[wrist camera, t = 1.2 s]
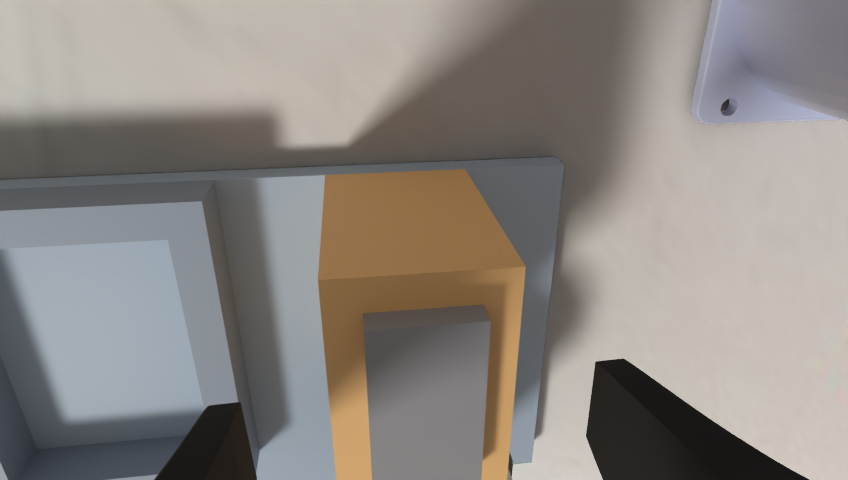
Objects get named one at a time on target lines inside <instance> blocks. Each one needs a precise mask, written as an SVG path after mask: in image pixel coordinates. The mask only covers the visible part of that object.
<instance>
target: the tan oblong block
mask: <svg viewBox="0 0 848 480" xmlns="http://www.w3.org/2000/svg"><path fill="white" fill-rule="evenodd" d="M525 270H526V266H525V265H524V263H523V261H522V260H521V258H520V256H519V255H518V253H517V252H516V250H515V248H514V247H513V245H512V244H511V242H510V240H509V239H508V237H507V236H506V234H505V232H504V231H503V229H502V228H501V226H500V224H499V223H498V221H497V220H496V218H495V216H494V215H493V213H492V212H491V210H490V208H489V207H488V205H487V204H486V202H485V200H484V199H483V197H482V196H481V194H480V192H479V191H478V189H477V188H476V186H475V184H474V183H473V181H472V179H471V178H470V176H469V175H468V173H467V171H466V170H465V169H455V170H432V171H409V172H386V173H362V174H339V175H325V183H324V198H323V212H322V226H321V241H320V255H319V270H318V288H319V299H320V310H321V320H322V331H323V342H324V353H325V364H326V374H327V385H328V396H329V407H330V418H331V428H332V439H333V450H334V461H335V472H336V480H507V475H508V463H509V452H510V441H511V429H512V418H513V407H514V395H515V384H516V372H517V361H518V350H519V338H520V327H521V315H522V304H523V293H524V281H525Z"/></svg>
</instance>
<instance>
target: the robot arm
mask: <svg viewBox="0 0 848 480" xmlns="http://www.w3.org/2000/svg"><path fill="white" fill-rule="evenodd" d="M727 99H729V106H728V108H727V109H726V110H725V111H724V112H722V113H721V106H722V104H723V103H724V102H725V101H726V100H727ZM691 113H692V115H693V117H694V118H695V119H696V120H697V121H699V122H702V123H705V124H728V123H756V122H785V121H813V120H841V119H843V120H846V121H848V0H713V1H712V6H711V11H710V16H709V21H708V26H707V31H706V35H705V40H704V45H703V50H702V55H701V60H700V65H699V70H698V75H697V80H696V85H695V90H694V95H693V100H692V105H691ZM586 437H587V440H588V442H589V445H590V448H591V450H592V453H593V455H594V458H595V461H596V463H597V466H598V468H599V471H600V473H601V476H602V478H603V480H809V479H807V478H805V477H803V476H801V475H800V474H798V473H796V472H794V471H792V470H790V469H789V468H787V467H785V466H783V465H782V464H780V463H778V462H777V461H775V460H773V459H771V458H770V457H768V456H767V455H765V454H763V453H762V452H760V451H759V450H757V449H755V448H754V447H752V446H751V445H749V444H747V443H746V442H744V441H742V440H741V439H739V438H738V437H736V436H735V435H733V434H732V433H730V432H728V431H727V430H725V429H724V428H722V427H721V426H719V425H718V424H716V423H715V422H713V421H712V420H710V419H709V418H708V417H706V416H705V415H703V414H702V413H700V412H699V411H697V410H696V409H694V408H693V407H692V406H690V405H689V404H687V403H686V402H684V401H683V400H682V399H680V398H679V397H677V396H676V395H675V394H673V393H672V392H670V391H669V390H668V389H666V388H665V387H663V386H662V385H661V384H659V383H658V382H656V381H655V380H654V379H652V378H651V377H650V376H648V375H647V374H645V373H644V372H642V371H641V370H640V369H638V368H637V367H635V366H634V365H632V364H631V363H629V362H628V361H626V360H625V359H616V360H607V361H598V362H596V363H595V371H594V379H593V387H592V395H591V402H590V410H589V418H588V426H587V434H586ZM154 480H257V476H256V471H255V466H254V462H253V457H252V452H251V448H250V443H249V439H248V434H247V429H246V425H245V420H244V415H243V411H242V406H241V402H236V403H227V404H218V405H209V406H208V407H207V408H206V409H205V410H204V411H203V412H202V414H201V415H200V417H199V418H198V419H197V421H196V422H195V424H194V425H193V427H192V428H191V429H190V431H189V432H188V434H187V435H186V437H185V438H184V439H183V441H182V442H181V444H180V445H179V447H178V448H177V449H176V451H175V452H174V453H173V455H172V456H171V458H170V459H169V460H168V462H167V463H166V464H165V466H164V467H163V468H162V470H161V471H160V472H159V474H158V475H157V476H156V478H155V479H154Z"/></svg>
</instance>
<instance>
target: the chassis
mask: <svg viewBox="0 0 848 480" xmlns="http://www.w3.org/2000/svg"><path fill="white" fill-rule="evenodd" d="M564 167H565V165H564V164H563V163H562V162H561V161H560V160H559V159H558V158H556V157H537V158H512V159H488V160H464V161H440V162H416V163H391V164H367V165H343V166H319V167H295V168H270V169H246V170H222V171H198V172H174V173H149V174H125V175H101V176H77V177H53V178H28V179H4V180H0V480H154V479H155V478H156V476H157V475H158V474H159V472H160V471H161V470H162V468H163V467H164V466H165V464H166V463H167V462H168V460H169V459H170V458H171V456H172V455H173V453H174V452H175V451H176V449H177V448H178V447H179V445H180V444H181V442H182V441H183V439H184V438H185V437H186V435H187V434H188V432H189V431H190V429H191V428H192V427H193V425H194V424H195V422H196V421H197V419H198V418H199V417H200V415H201V414H202V412H203V411H204V410H205V409H206V408H207V407H208V406H209V405H218V404H227V403H236V402H241V406H242V411H243V415H244V420H245V425H246V429H247V434H248V439H249V443H250V448H251V452H252V457H253V462H254V466H255V471H256V476H257V480H336V472H335V461H334V450H333V439H332V428H331V418H330V407H329V396H328V385H327V374H326V364H325V353H324V342H323V331H322V320H321V310H320V299H319V288H318V270H319V255H320V241H321V226H322V212H323V198H324V183H325V175H339V174H362V173H386V172H409V171H432V170H455V169H465V170H466V171H467V173H468V175H469V176H470V178H471V179H472V181H473V183H474V184H475V186H476V188H477V189H478V191H479V192H480V194H481V196H482V197H483V199H484V200H485V202H486V204H487V205H488V207H489V208H490V210H491V212H492V213H493V215H494V216H495V218H496V220H497V221H498V223H499V224H500V226H501V228H502V229H503V231H504V232H505V234H506V236H507V237H508V239H509V240H510V242H511V244H512V245H513V247H514V248H515V250H516V252H517V253H518V255H519V256H520V258H521V260H522V261H523V263H524V265H525V266H526V270H525V281H524V293H523V304H522V315H521V327H520V338H519V350H518V361H517V372H516V384H515V395H514V407H513V418H512V429H511V441H510V454H511V457H512V460H513V464H520V463H530V462H532V453H533V445H534V436H535V427H536V418H537V409H538V400H539V391H540V382H541V373H542V364H543V355H544V346H545V337H546V328H547V319H548V310H549V301H550V292H551V283H552V274H553V265H554V256H555V247H556V239H557V230H558V221H559V212H560V203H561V194H562V185H563V176H564Z"/></svg>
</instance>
